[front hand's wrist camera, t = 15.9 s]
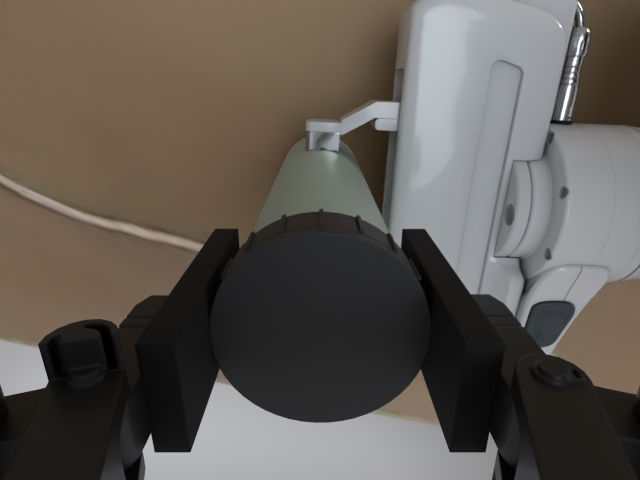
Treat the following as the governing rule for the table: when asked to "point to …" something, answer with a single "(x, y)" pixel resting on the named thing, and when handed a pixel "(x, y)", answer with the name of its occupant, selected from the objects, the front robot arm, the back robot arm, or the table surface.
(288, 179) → the bottle
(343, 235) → the lid
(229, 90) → the table surface
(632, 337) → the table surface
